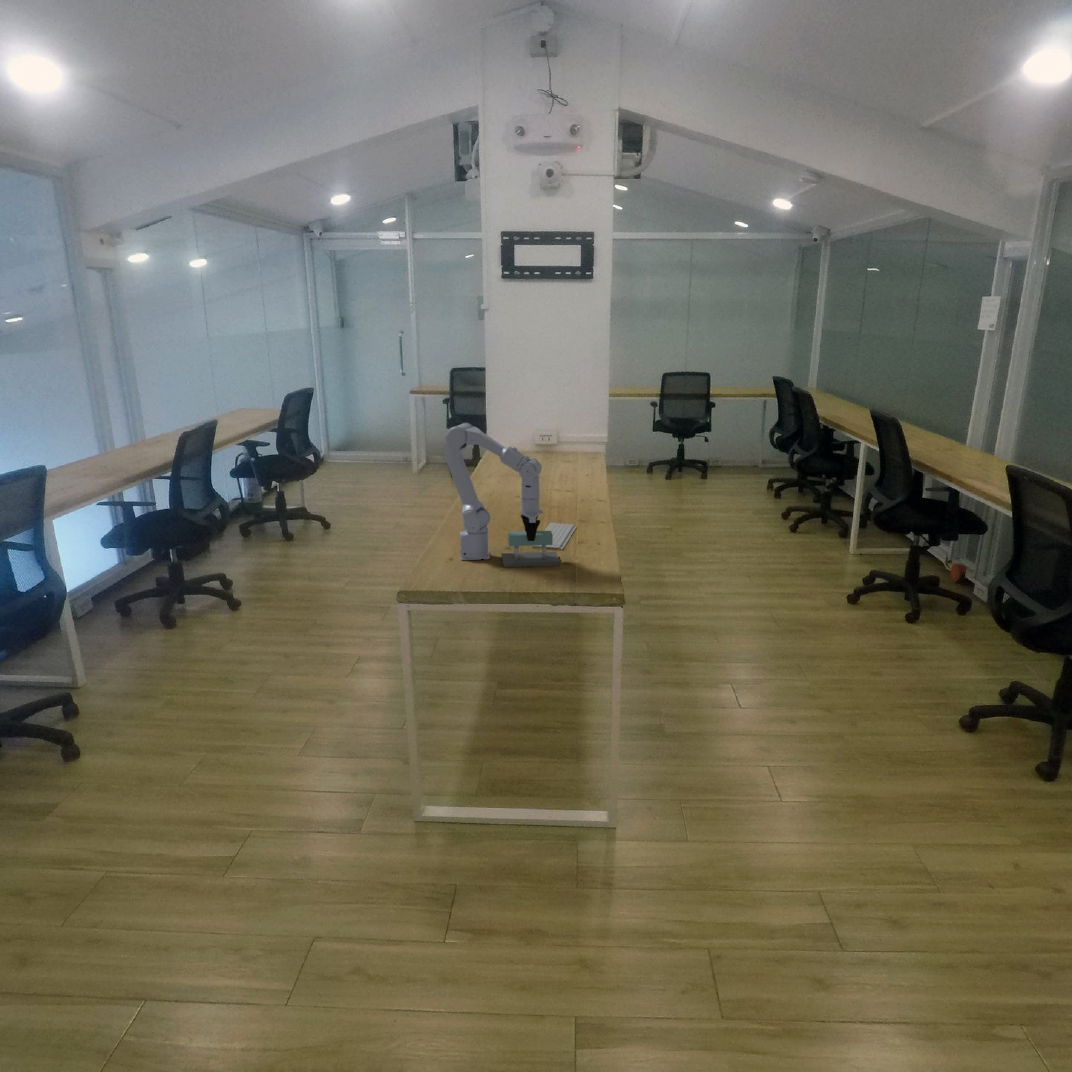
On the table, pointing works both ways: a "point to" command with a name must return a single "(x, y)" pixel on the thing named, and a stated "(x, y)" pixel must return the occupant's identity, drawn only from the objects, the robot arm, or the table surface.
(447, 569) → the table surface
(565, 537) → the white ridged flat slab
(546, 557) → the peg stand
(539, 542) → the teal rectangular block
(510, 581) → the table surface
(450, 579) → the table surface
